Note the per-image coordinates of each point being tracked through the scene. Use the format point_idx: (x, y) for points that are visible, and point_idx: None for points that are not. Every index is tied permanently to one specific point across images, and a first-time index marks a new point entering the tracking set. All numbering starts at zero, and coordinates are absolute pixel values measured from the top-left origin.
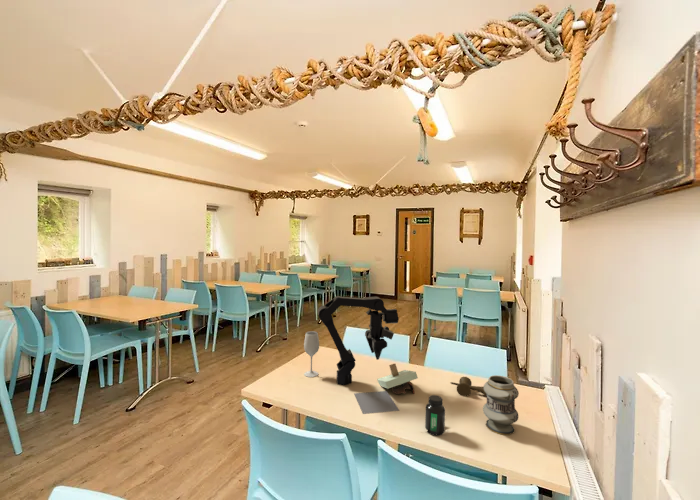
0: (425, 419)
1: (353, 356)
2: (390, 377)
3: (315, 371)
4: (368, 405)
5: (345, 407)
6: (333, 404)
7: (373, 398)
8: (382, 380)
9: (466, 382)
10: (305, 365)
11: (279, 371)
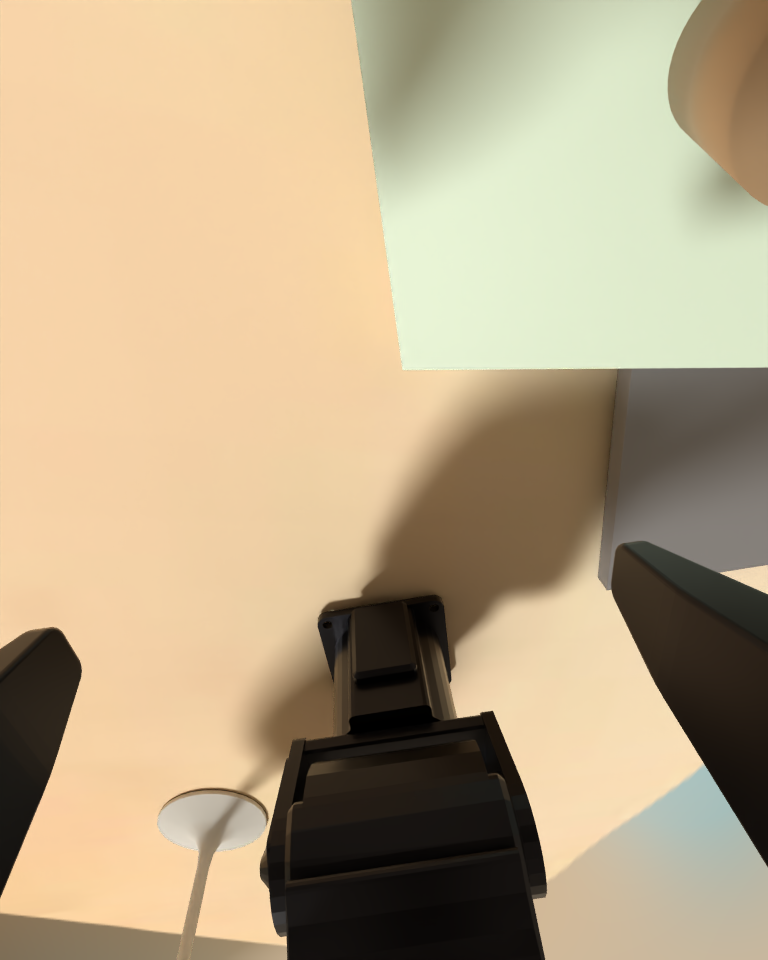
0: None
1: (352, 890)
2: (729, 202)
3: (166, 812)
4: None
5: None
6: None
7: (754, 440)
8: (716, 358)
9: None
10: (57, 861)
11: (201, 929)
